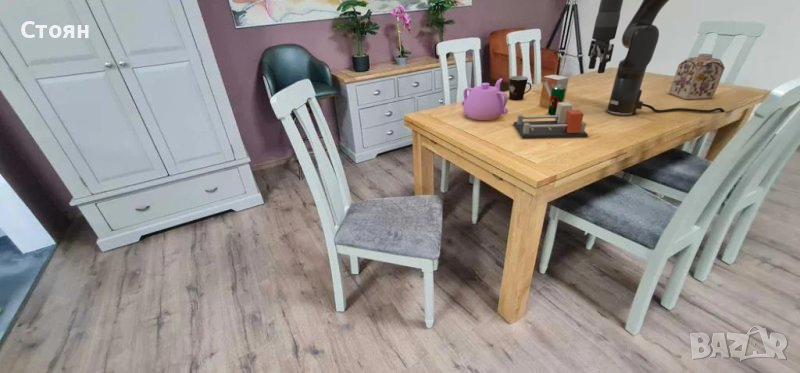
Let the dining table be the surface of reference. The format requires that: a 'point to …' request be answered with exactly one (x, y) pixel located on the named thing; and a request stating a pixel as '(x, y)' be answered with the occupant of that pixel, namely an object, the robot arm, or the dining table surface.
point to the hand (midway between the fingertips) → (595, 70)
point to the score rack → (545, 128)
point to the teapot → (485, 102)
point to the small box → (547, 88)
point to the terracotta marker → (573, 121)
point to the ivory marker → (562, 111)
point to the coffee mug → (517, 87)
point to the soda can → (556, 98)
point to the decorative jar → (697, 77)
